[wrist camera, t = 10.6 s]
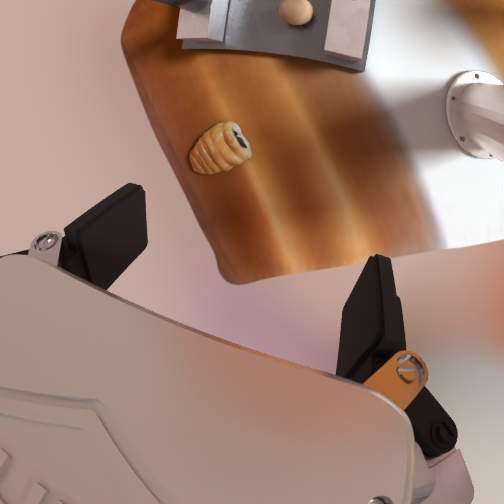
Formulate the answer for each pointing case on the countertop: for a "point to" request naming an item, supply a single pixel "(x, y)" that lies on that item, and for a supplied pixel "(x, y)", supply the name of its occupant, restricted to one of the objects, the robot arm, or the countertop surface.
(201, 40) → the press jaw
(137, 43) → the countertop surface
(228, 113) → the countertop surface
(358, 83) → the countertop surface
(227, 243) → the countertop surface
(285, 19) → the tan wooden ball
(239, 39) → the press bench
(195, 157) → the pastry
